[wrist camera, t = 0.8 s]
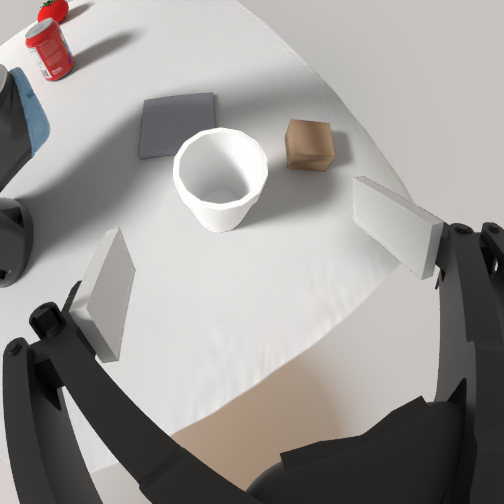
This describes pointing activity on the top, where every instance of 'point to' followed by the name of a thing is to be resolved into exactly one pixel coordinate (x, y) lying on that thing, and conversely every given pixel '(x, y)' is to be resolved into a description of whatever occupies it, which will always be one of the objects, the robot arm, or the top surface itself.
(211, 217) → the foam cup
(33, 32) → the soda can
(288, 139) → the walnut block
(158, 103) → the mat
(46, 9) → the tomato
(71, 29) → the top surface
